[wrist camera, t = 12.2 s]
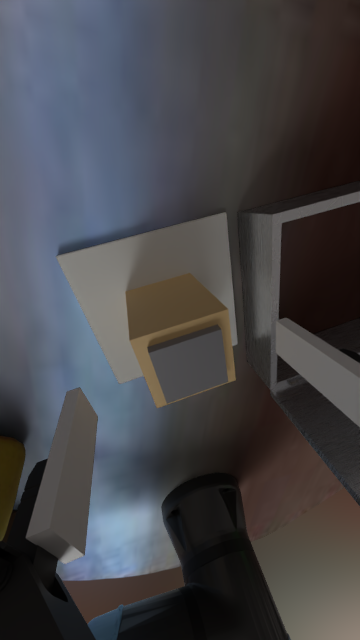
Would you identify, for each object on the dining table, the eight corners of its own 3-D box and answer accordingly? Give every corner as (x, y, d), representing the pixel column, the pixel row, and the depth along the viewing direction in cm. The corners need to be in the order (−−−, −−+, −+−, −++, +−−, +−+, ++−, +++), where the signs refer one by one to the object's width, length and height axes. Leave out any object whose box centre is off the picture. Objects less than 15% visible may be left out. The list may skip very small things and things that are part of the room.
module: (144, 345, 22) (158, 415, 15) (125, 291, 19) (129, 346, 12) (200, 327, 23) (239, 386, 15) (189, 272, 20) (232, 313, 12)
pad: (119, 380, 24) (119, 384, 23) (57, 255, 17) (55, 256, 16) (235, 341, 26) (237, 344, 25) (223, 212, 19) (226, 212, 18)
